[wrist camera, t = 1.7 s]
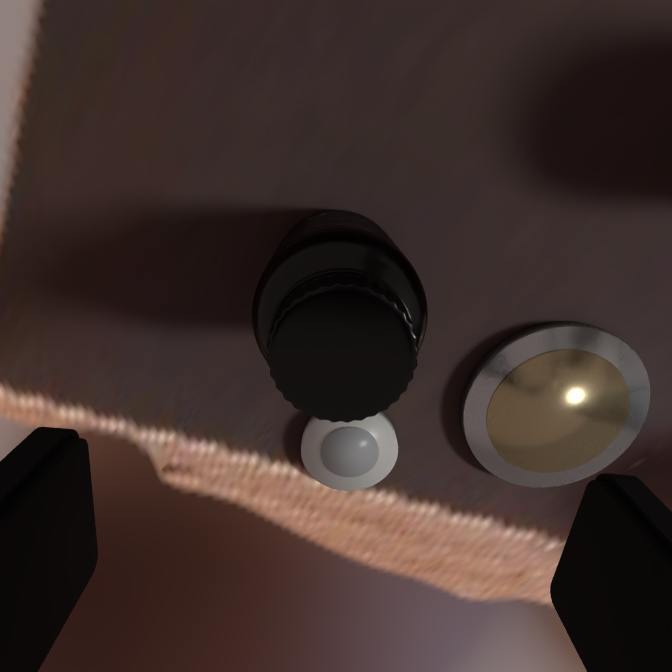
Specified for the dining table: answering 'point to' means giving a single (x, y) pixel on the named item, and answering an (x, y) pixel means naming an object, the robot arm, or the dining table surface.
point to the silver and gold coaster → (554, 404)
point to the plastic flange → (349, 451)
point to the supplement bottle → (339, 317)
